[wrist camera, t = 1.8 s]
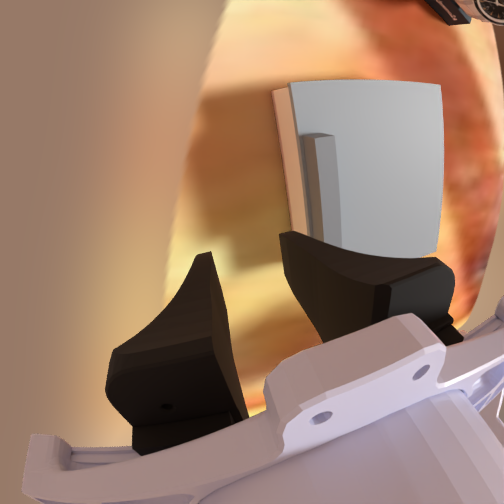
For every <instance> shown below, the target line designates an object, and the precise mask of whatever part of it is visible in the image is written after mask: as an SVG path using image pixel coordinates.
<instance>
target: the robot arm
mask: <svg viewBox="0 0 504 504" xmlns="http://www.w3.org/2000/svg"><path fill="white" fill-rule="evenodd" d="M279 238H280V245H281V252H282V259H283V267H284V274H285V277H286V279H287V281H288V284H289V286H290V288H291V290H292V292H293V294H294V295H295V297H296V299H297V300H298V302H299V303H300V305H301V306H302V308H303V309H304V311H305V313H306V314H307V316H308V317H309V319H310V320H311V322H312V323H313V325H314V326H315V328H316V330H317V332H318V333H319V335H320V337H321V339H322V341H323V344H320V345H317V346H314V347H311V348H308V349H305V350H302V351H300V352H298V353H296V354H294V355H292V356H290V357H288V358H286V359H284V360H282V361H281V362H280V363H279V364H278V366H277V367H276V368H275V369H274V370H273V371H272V372H271V373H270V374H269V375H268V376H267V377H266V379H265V384H264V389H263V394H264V397H265V401H266V409H267V410H265V411H263V412H261V413H259V414H257V415H254V416H252V417H250V418H249V415H248V411H247V408H246V404H245V401H244V397H243V393H242V390H241V386H240V382H239V379H238V375H237V371H236V367H235V363H234V359H233V353H232V346H231V339H230V331H229V323H228V315H227V309H226V305H225V301H224V297H223V293H222V289H221V285H220V282H219V278H218V275H217V271H216V267H215V264H214V260H213V256H212V253H211V251H210V252H206V253H202V254H198V255H196V257H195V259H194V261H193V264H192V266H191V268H190V270H189V272H188V274H187V276H186V278H185V280H184V282H183V284H182V285H181V287H180V289H179V290H178V292H177V293H176V295H175V296H174V298H173V299H172V300H171V302H170V303H169V304H168V305H167V306H166V308H165V309H164V310H163V311H162V312H161V313H160V314H159V315H158V316H157V317H156V318H155V319H154V320H153V321H152V322H151V323H150V324H149V325H147V326H146V327H145V328H144V329H143V330H141V331H140V332H139V333H138V334H136V335H135V336H134V337H132V338H131V339H129V340H128V341H126V342H125V343H123V344H122V345H120V346H119V347H117V348H115V349H114V350H113V352H112V355H111V359H110V362H109V369H108V374H107V380H106V387H105V392H106V396H107V398H108V400H109V401H110V403H111V404H112V405H113V406H114V408H115V409H116V410H117V411H118V412H119V413H120V414H121V415H122V416H123V417H124V418H125V419H126V420H127V421H128V422H129V423H130V424H131V425H132V426H133V430H132V446H124V447H123V446H122V447H71V446H70V445H69V444H68V443H67V442H66V441H65V440H64V439H62V438H60V437H58V436H55V435H48V434H31V438H30V442H29V447H28V453H27V458H26V464H25V470H24V476H23V484H22V492H23V494H25V495H27V496H29V497H30V498H32V499H34V500H36V501H38V502H40V503H42V504H504V424H503V422H502V421H501V420H500V418H499V417H498V415H499V411H500V407H501V404H502V400H503V396H504V296H503V297H502V298H501V299H500V301H499V302H498V305H497V307H496V310H495V314H494V315H493V316H491V317H490V318H488V319H487V320H486V321H484V322H483V323H481V324H480V325H478V326H477V327H476V328H474V329H473V330H471V331H470V332H468V333H467V332H466V331H464V330H462V331H458V330H456V329H455V328H454V327H453V326H452V325H451V324H452V323H453V321H454V320H453V318H452V317H451V316H450V315H449V314H448V310H449V307H450V303H451V300H452V296H453V292H454V287H455V276H454V273H453V271H452V269H451V268H449V267H448V266H447V265H445V264H444V263H443V262H442V261H440V260H439V259H438V258H436V257H426V258H394V257H383V256H375V255H369V254H363V253H359V252H354V251H350V250H346V249H343V248H340V247H337V246H333V245H331V244H328V243H325V242H322V241H320V240H317V239H315V238H312V237H310V236H307V235H304V234H302V233H299V232H296V231H289V232H285V233H281V234H279Z"/></svg>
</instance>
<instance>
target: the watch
mask: <svg viewBox="0 0 504 504" xmlns="http://www.w3.org/2000/svg"><path fill="white" fill-rule="evenodd" d="M425 1H426V2H427V3H428V4H429V5H430V6H431V7H432V8H433V9H434V10H435V11H436V12H437V13H438V14H439V15H440V16H441V17H442V18H443V20H444V21H445V22H446V23H447V24H448V25H449V26H450V25H459V24H470V22H471V18H475V19H479V20H481V21H482V22H490V23H493V24H496V25H501V26H504V0H425Z"/></svg>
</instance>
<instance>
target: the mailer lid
mask: <svg viewBox="0 0 504 504" xmlns="http://www.w3.org/2000/svg"><path fill="white" fill-rule="evenodd" d="M287 84H288V90H289V96H290V102H291V108H292V114H293V121H294V127H295V134H296V141H297V148H298V156H299V164H300V171H301V180H302V188H303V197H304V206H305V216H306V226H307V236H310V237H312V238H315V239H317V240H320V241H322V242H325V243H328V244H331V245H333V246H337V247H340V248H343V249H346V250H350V251H354V252H359V253H363V254H369V255H375V256H383V257H394V258H420V257H422V256H425V255H428V254H430V253H433V252H436V249H437V243H438V235H439V227H440V218H441V207H442V194H443V176H444V127H443V109H442V96H441V86H440V85H437V84H428V83H419V82H407V81H392V80H320V81H304V82H292V83H287Z"/></svg>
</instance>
